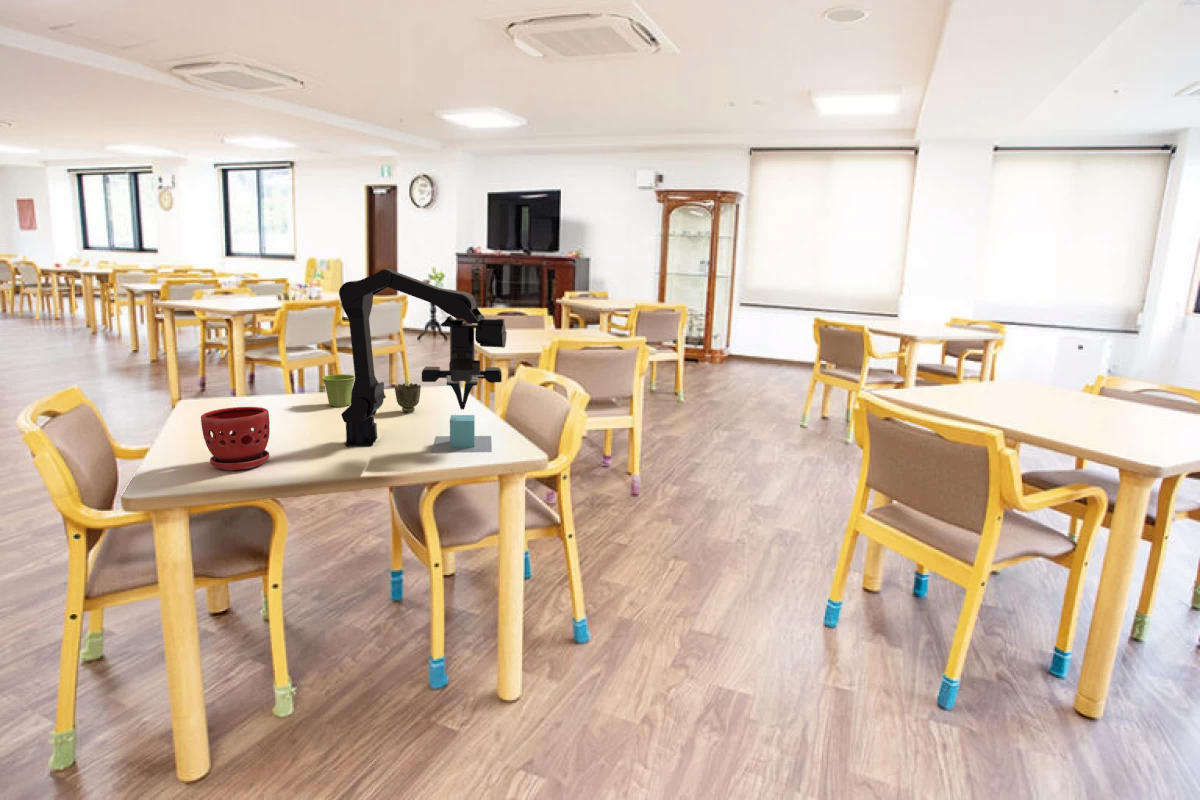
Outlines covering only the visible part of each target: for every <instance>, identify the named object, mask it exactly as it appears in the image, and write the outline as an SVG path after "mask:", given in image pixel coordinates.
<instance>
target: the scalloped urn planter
mask: <svg viewBox="0 0 1200 800" xmlns="http://www.w3.org/2000/svg"><path fill="white" fill-rule="evenodd" d="M393 388H394V392H395V399H396V402H397V405H399V407H401V412H402V413H406V414H411V413H413V412H415V410H416V409H415V407H416V406H417V405H418V404H419V403H420V397H421V388H422V385H420V384H417V383H413V382H411V383H409V385H406V384H405V383H403V384H400V383H398V384H397V385H395V386H394V387H393Z"/></svg>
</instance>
